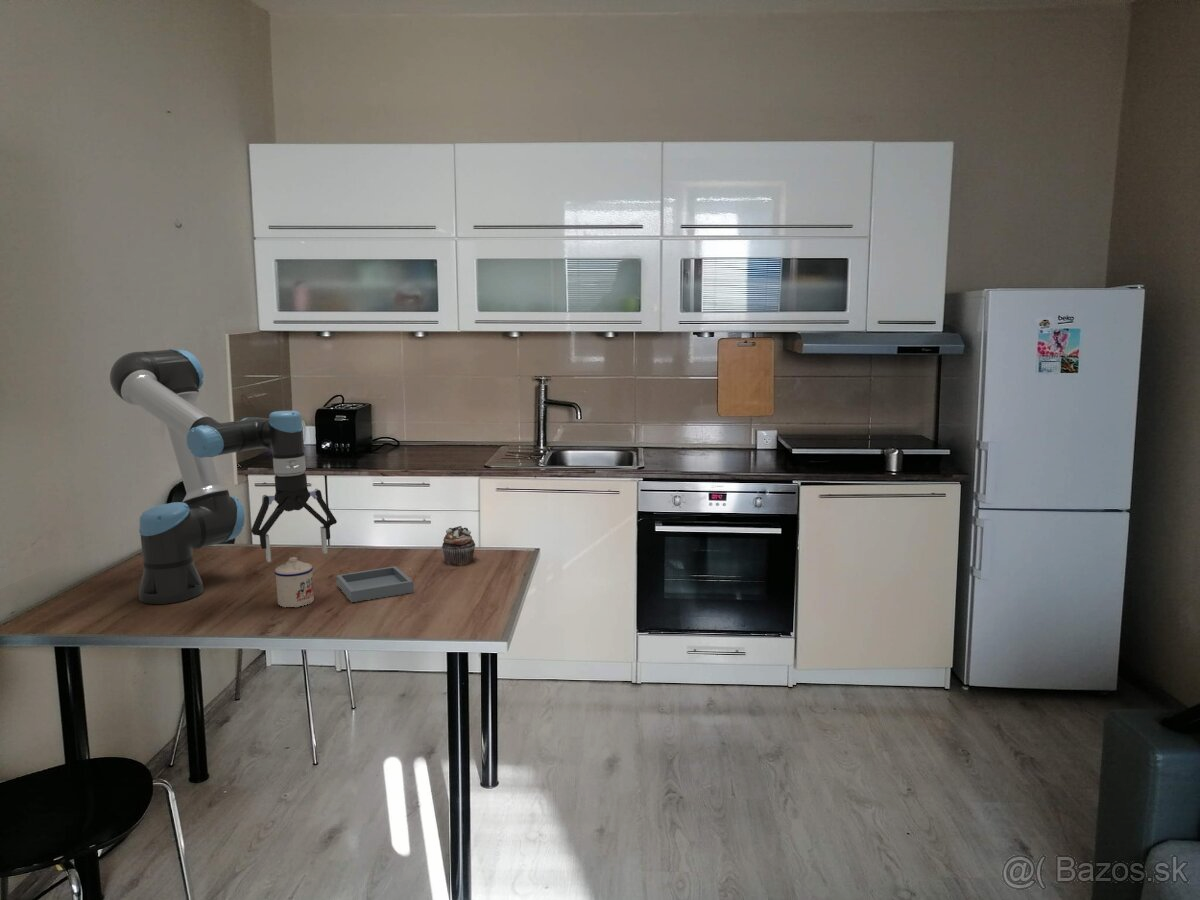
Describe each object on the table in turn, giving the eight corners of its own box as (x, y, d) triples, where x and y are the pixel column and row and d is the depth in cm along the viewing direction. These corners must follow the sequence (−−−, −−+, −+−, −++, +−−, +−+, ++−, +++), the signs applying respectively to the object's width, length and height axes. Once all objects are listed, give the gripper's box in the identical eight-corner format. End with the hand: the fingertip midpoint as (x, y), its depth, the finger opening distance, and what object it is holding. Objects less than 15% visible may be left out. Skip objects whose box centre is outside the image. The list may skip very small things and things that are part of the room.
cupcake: (435, 562, 260) (433, 528, 259) (461, 555, 268) (459, 522, 266) (456, 568, 254) (455, 533, 253) (482, 560, 261) (481, 527, 260)
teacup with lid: (302, 609, 222) (299, 564, 220) (269, 607, 224) (266, 562, 222) (327, 594, 233) (325, 550, 231) (296, 592, 235) (293, 548, 233)
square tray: (351, 603, 226) (350, 591, 225) (337, 586, 240) (336, 575, 239) (413, 592, 233) (413, 581, 233) (396, 576, 247) (395, 566, 247)
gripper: (238, 481, 214) (246, 568, 217) (344, 470, 226) (350, 552, 229) (234, 476, 220) (242, 560, 224) (337, 465, 232) (343, 545, 235)
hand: (297, 556), depth 226 cm, fingers open, 13 cm apart
